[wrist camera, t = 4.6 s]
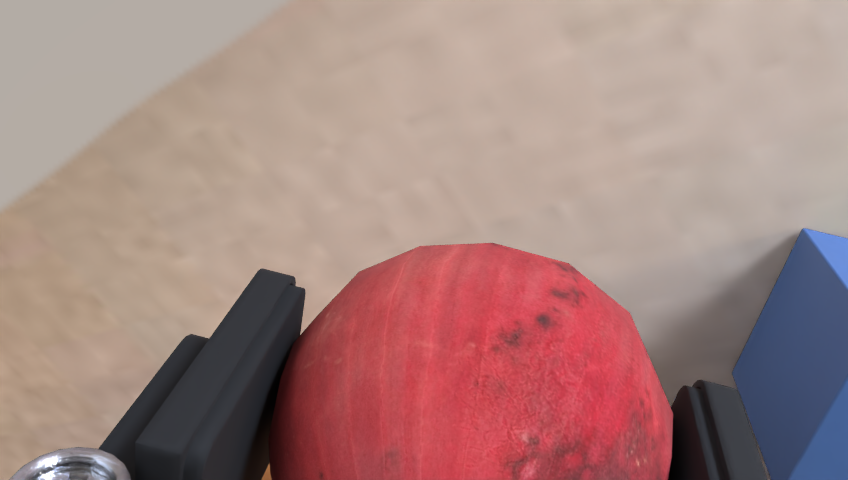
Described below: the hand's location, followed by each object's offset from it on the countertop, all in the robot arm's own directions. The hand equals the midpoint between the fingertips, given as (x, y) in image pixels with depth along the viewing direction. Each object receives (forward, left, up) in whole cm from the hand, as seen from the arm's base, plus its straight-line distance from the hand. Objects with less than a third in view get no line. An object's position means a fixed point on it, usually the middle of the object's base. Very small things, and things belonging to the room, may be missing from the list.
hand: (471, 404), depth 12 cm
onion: (0, 0, -3) cm, 3 cm away
